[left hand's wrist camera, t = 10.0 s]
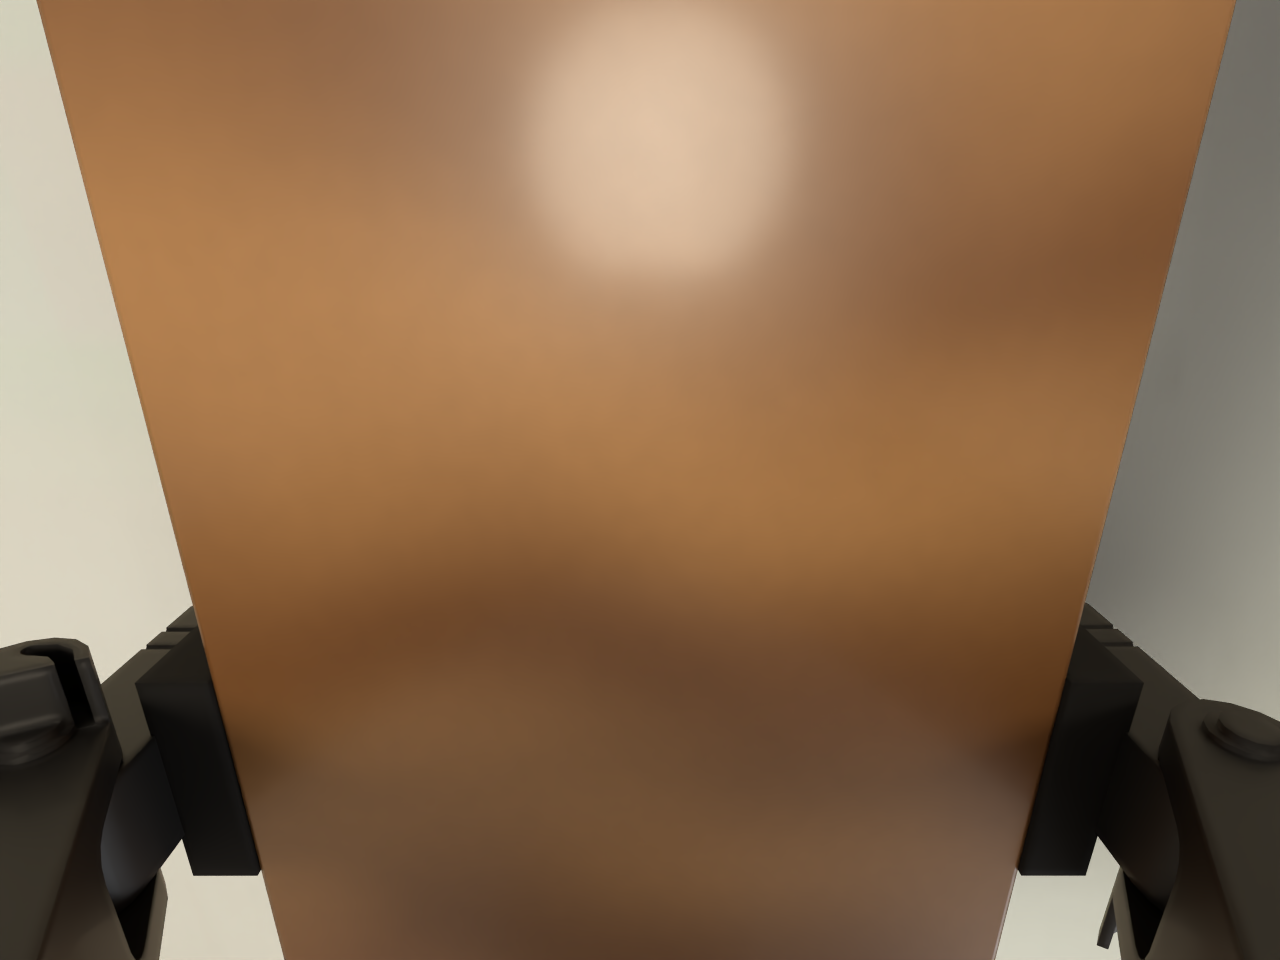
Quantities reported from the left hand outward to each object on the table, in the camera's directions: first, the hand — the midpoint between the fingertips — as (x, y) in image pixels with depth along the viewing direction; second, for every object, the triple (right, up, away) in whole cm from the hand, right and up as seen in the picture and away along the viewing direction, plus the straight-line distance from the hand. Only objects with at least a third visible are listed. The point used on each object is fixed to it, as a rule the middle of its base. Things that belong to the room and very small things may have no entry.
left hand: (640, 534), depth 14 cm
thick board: (0, +32, -11) cm, 34 cm away
